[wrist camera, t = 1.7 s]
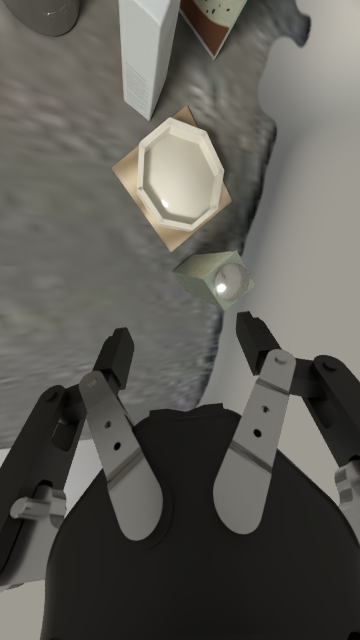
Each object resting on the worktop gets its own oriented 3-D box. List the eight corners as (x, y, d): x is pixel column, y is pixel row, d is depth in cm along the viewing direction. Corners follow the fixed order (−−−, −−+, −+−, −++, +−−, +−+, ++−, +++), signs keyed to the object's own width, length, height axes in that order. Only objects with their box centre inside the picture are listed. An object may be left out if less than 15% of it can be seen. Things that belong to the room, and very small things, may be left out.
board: (112, 169, 27) (111, 167, 27) (186, 107, 27) (186, 105, 27) (170, 251, 33) (171, 251, 33) (231, 201, 33) (232, 200, 33)
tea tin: (172, 271, 34) (205, 279, 19) (191, 255, 34) (239, 250, 19) (186, 290, 36) (226, 312, 21) (204, 275, 36) (258, 286, 21)
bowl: (118, 169, 27) (117, 160, 25) (185, 113, 27) (191, 99, 25) (171, 246, 32) (175, 245, 30) (227, 199, 33) (235, 194, 30)
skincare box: (138, 52, 24) (146, -123, 13) (166, 79, 26) (193, -57, 15) (122, 101, 25) (115, -23, 14) (149, 124, 27) (162, 28, 16)
